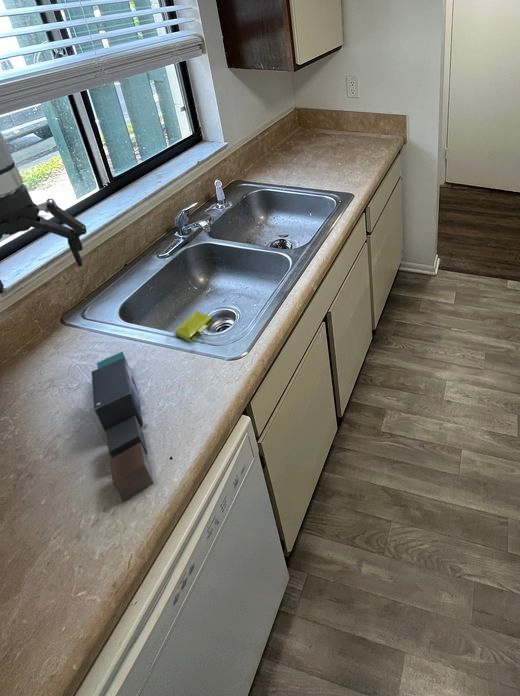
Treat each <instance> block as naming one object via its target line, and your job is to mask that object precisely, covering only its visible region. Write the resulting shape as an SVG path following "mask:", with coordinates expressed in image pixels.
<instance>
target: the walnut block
mask: <svg viewBox="0 0 520 696" xmlns="http://www.w3.org/2000/svg"><path fill="white" fill-rule="evenodd" d="M109 465H110V472H111V480H112V485H113V488H114V489H115V490H116V492H117V494H118V496H119V498H120V500H121V501H122V503H125V502H126V501H128V500H130V499H131V498H133V497H135V496H136V495H138V494H139V493H141V492H143V491H144V490H146V489H148V488H149V487H150V486H153V485H154V477H153V473H152V469H151V463H150V460H149V458H148V454H147V455H146V453H145V451H144V449H143V447H142V445H141V443H138V444H136V445H135V446H133V447H131V448H129V449H127V450H126V451H124V452H122V453H120V454H118V455H117V456H115V457H113V458H111V457H110V459H109Z"/></svg>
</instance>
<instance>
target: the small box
mask: <svg viewBox="0 0 520 696" xmlns="http://www.w3.org/2000/svg"><path fill="white" fill-rule="evenodd" d="M125 359H126V357H125V358H123V359H120V360H118V361H115V362H113V363H111V364H108V365H106V366H104V367H101V368H99V369H98V368H97V369H94V370H92V371H91V384H92V398H93V409H94V412H95V415H96V416H97V418H98V420H99V423H100V425H101V427H102V428H103V431H104V432H105V434H106V431H107V430H109V429H110V428H112V427H114V426H116V425H118V424H120V423H122V422H124V421H126V420H128V419H129V418H131V417H133V416H136V419H137V421H138V423H139V425H140V427H141V428H142V427H143V426H144V421H143V415H142V408H141V407H142V406H141V401H140V396H139V390H138V387H137V384H136V382H135V380H134V379H135V378H134V377H133V374H132V372H130V371H131V368H130V366H129V364H128V365H127V363H128V361H127V359H126V360H125ZM126 361H127V362H126ZM128 366H129V367H128ZM129 368H130V369H129Z"/></svg>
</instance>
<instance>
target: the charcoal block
mask: <svg viewBox="0 0 520 696" xmlns="http://www.w3.org/2000/svg"><path fill="white" fill-rule="evenodd" d="M105 436H106V442H107V450H108V454H109V456H110V459H111V458H113V457H115V456H117V455H118V454H120V453H122V452H124V451H126V450H127V449H129V448H131V447H133V446H135V445H136V444H138V443H141V445H142V447H143V449H144V451H145V453H146V455H147V456H148V450H147V444H146V439H145V434H144V432H143V430H142V427H140V425H139V423H138V421H137V419H136V416H133V417H131V418H129V419H128V420H126V421H124V422H122V423H120V424H118V425H116V426H114V427H112V428H110V429H109V430H107V431H106V433H105Z"/></svg>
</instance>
